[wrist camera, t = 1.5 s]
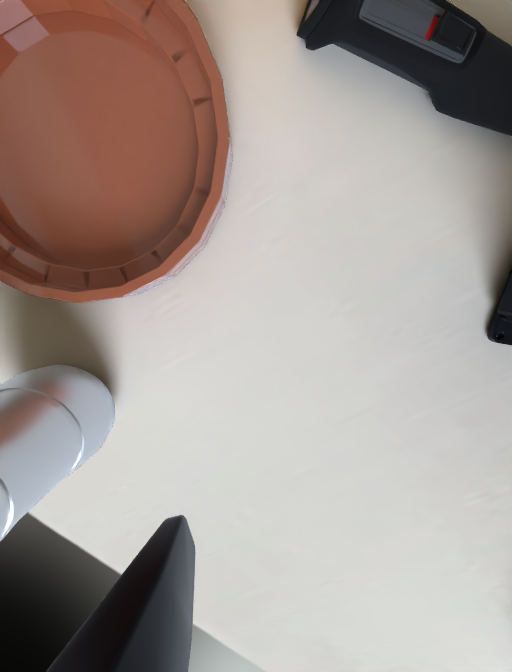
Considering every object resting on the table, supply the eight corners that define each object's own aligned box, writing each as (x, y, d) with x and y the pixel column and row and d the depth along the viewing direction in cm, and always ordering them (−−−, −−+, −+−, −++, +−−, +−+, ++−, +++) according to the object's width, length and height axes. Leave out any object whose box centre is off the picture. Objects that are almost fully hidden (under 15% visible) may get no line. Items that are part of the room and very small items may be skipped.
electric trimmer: (521, 171, 18) (580, 150, 15) (290, 49, 16) (302, -5, 13) (556, 106, 17) (626, 69, 14) (320, -30, 15) (340, -108, 12)
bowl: (254, 22, 15) (256, -35, 13) (209, 317, 19) (202, 325, 16) (-65, -58, 14) (-145, -141, 11) (-51, 270, 18) (-110, 270, 15)
